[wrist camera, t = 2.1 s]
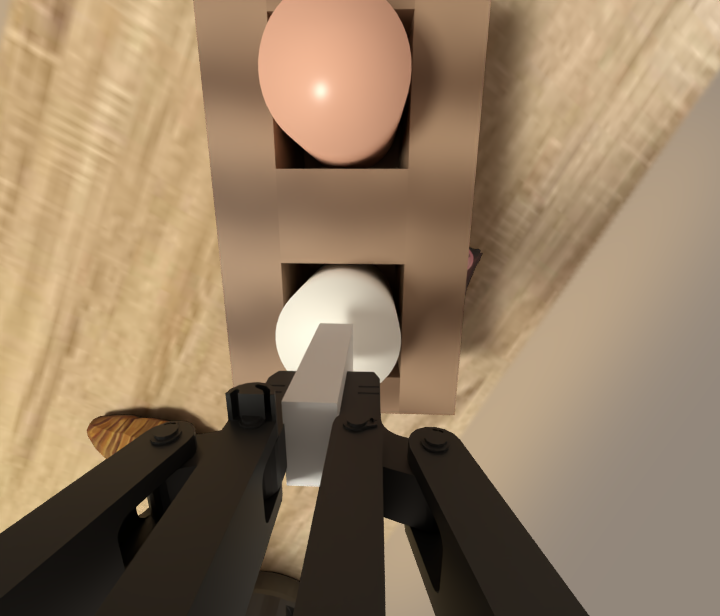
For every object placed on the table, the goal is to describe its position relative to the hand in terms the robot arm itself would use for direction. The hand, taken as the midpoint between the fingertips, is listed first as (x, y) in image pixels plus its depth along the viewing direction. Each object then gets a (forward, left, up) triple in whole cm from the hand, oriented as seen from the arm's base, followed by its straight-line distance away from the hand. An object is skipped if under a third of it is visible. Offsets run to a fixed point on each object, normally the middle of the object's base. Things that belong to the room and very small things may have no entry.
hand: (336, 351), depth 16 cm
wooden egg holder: (+6, 0, -14) cm, 15 cm away
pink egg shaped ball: (+12, 0, -10) cm, 15 cm away
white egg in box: (0, 0, -10) cm, 10 cm away
